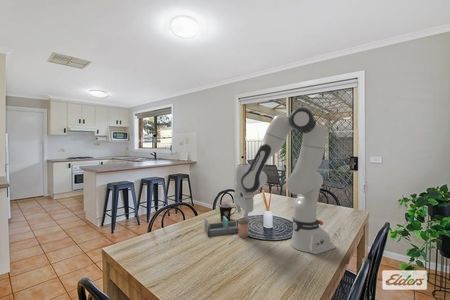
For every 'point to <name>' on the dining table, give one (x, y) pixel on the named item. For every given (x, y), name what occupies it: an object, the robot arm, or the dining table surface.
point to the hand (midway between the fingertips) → (242, 214)
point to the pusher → (225, 222)
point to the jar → (243, 227)
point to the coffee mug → (226, 211)
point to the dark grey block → (220, 228)
